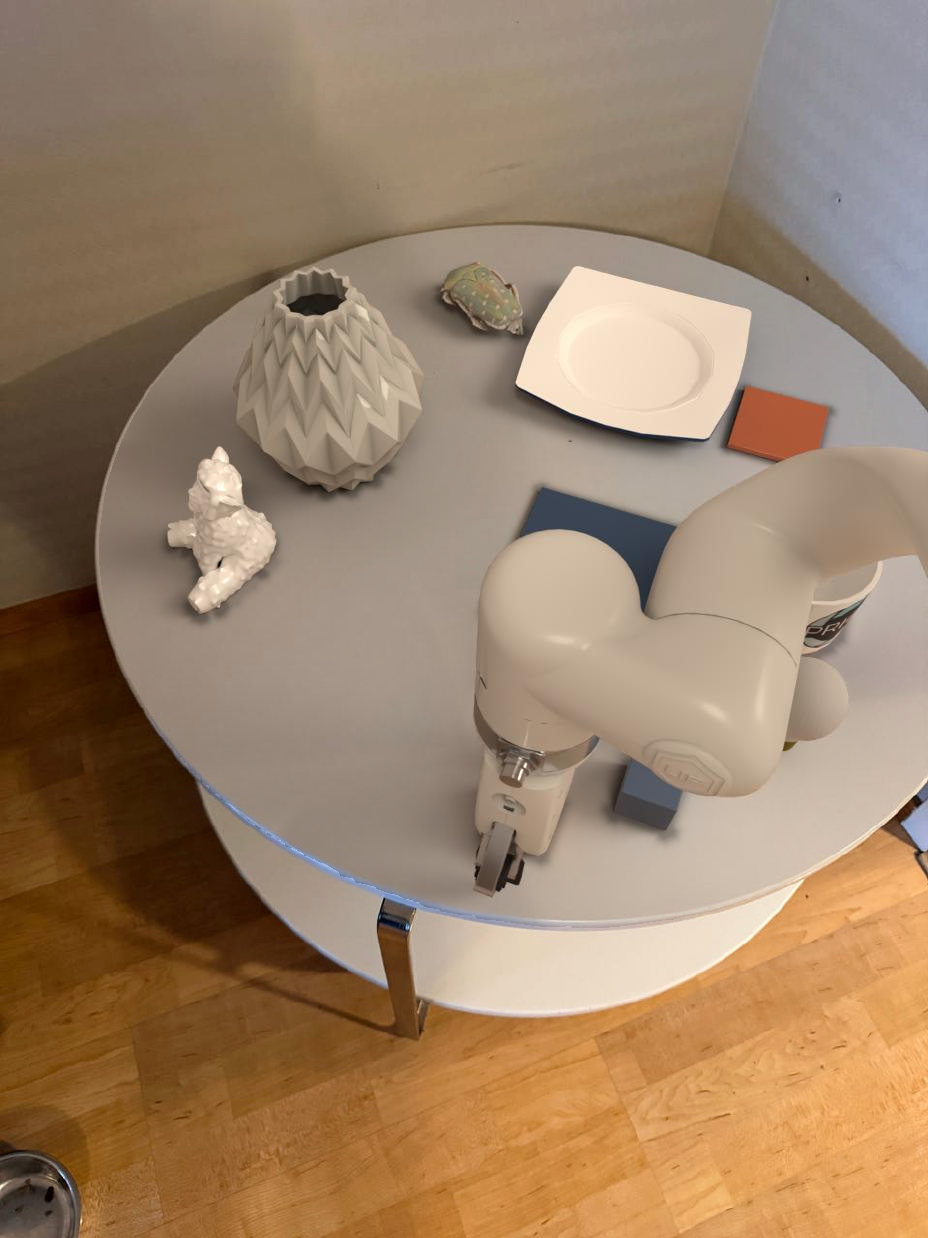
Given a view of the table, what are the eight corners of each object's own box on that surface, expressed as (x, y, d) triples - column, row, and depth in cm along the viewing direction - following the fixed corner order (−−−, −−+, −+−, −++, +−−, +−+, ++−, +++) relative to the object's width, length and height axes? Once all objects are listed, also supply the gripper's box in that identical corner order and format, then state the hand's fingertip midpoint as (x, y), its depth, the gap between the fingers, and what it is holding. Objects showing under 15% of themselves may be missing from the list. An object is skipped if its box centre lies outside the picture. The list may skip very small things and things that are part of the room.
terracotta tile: (827, 411, 91) (829, 406, 90) (812, 471, 87) (814, 466, 86) (744, 389, 92) (746, 384, 92) (726, 447, 88) (728, 442, 88)
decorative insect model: (527, 264, 100) (522, 229, 96) (525, 349, 96) (520, 317, 92) (445, 270, 102) (436, 236, 97) (439, 354, 98) (430, 323, 93)
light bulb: (797, 790, 70) (843, 733, 62) (723, 751, 72) (759, 690, 63) (825, 729, 73) (873, 666, 64) (754, 692, 75) (792, 627, 66)
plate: (566, 278, 100) (568, 257, 98) (756, 327, 97) (763, 306, 94) (500, 409, 90) (501, 389, 88) (709, 469, 87) (716, 450, 84)
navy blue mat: (704, 537, 83) (705, 534, 82) (664, 669, 76) (665, 666, 75) (541, 489, 85) (541, 486, 85) (488, 612, 78) (488, 609, 78)
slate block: (679, 782, 71) (690, 761, 67) (666, 831, 69) (677, 811, 65) (627, 764, 71) (636, 742, 68) (613, 812, 69) (621, 791, 66)
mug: (759, 533, 83) (786, 473, 76) (869, 598, 79) (907, 540, 72) (675, 635, 77) (696, 580, 70) (790, 709, 74) (824, 658, 67)
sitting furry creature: (166, 535, 82) (125, 441, 72) (261, 504, 84) (234, 407, 74) (196, 620, 78) (156, 532, 68) (295, 584, 80) (272, 494, 70)
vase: (261, 541, 82) (214, 384, 66) (245, 406, 91) (200, 238, 75) (444, 511, 84) (441, 351, 68) (412, 381, 92) (402, 212, 77)
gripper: (557, 870, 48) (532, 947, 63) (646, 603, 57) (605, 725, 71) (420, 819, 49) (427, 906, 64) (527, 565, 58) (511, 693, 72)
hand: (521, 811), depth 67 cm, fingers open, 9 cm apart
